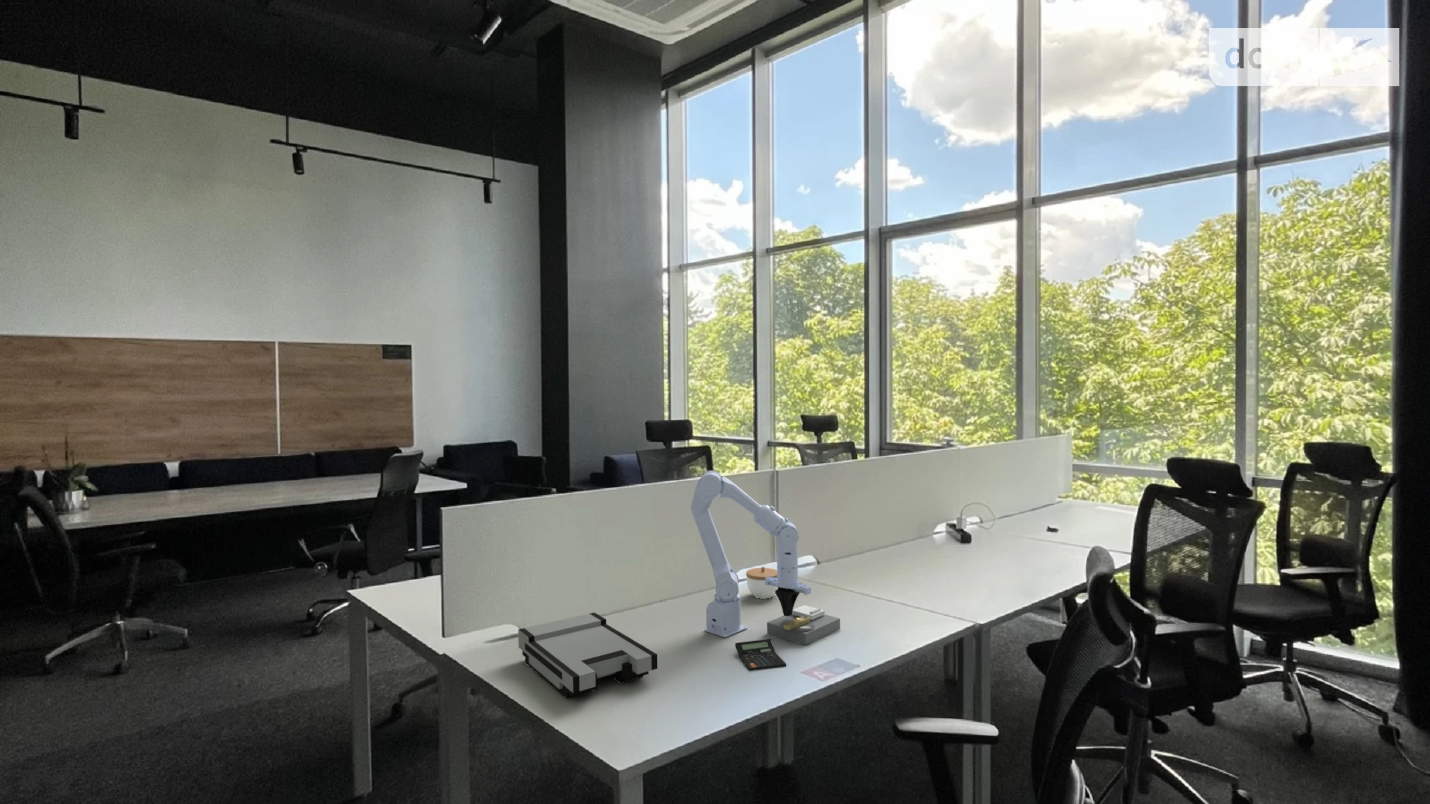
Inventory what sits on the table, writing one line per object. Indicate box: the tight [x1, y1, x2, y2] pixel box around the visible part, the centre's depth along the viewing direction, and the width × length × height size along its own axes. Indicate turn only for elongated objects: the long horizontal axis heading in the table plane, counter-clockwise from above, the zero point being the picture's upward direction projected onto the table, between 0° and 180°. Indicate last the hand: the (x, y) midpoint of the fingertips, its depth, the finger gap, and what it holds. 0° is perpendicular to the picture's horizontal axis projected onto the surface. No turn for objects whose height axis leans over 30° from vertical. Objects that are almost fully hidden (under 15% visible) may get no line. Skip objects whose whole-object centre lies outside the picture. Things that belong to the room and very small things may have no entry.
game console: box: [517, 612, 658, 700], centre depth 166 cm, size 21×32×8 cm, turn 36°
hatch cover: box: [792, 604, 825, 620], centre depth 196 cm, size 6×7×2 cm
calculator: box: [734, 638, 787, 672], centre depth 173 cm, size 9×12×3 cm
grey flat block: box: [766, 613, 841, 646], centre depth 191 cm, size 18×13×3 cm
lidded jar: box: [745, 566, 778, 600], centre depth 224 cm, size 11×11×9 cm
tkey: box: [784, 616, 810, 630], centre depth 187 cm, size 9×2×2 cm, turn 137°
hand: (787, 615), depth 193 cm, fingers closed
